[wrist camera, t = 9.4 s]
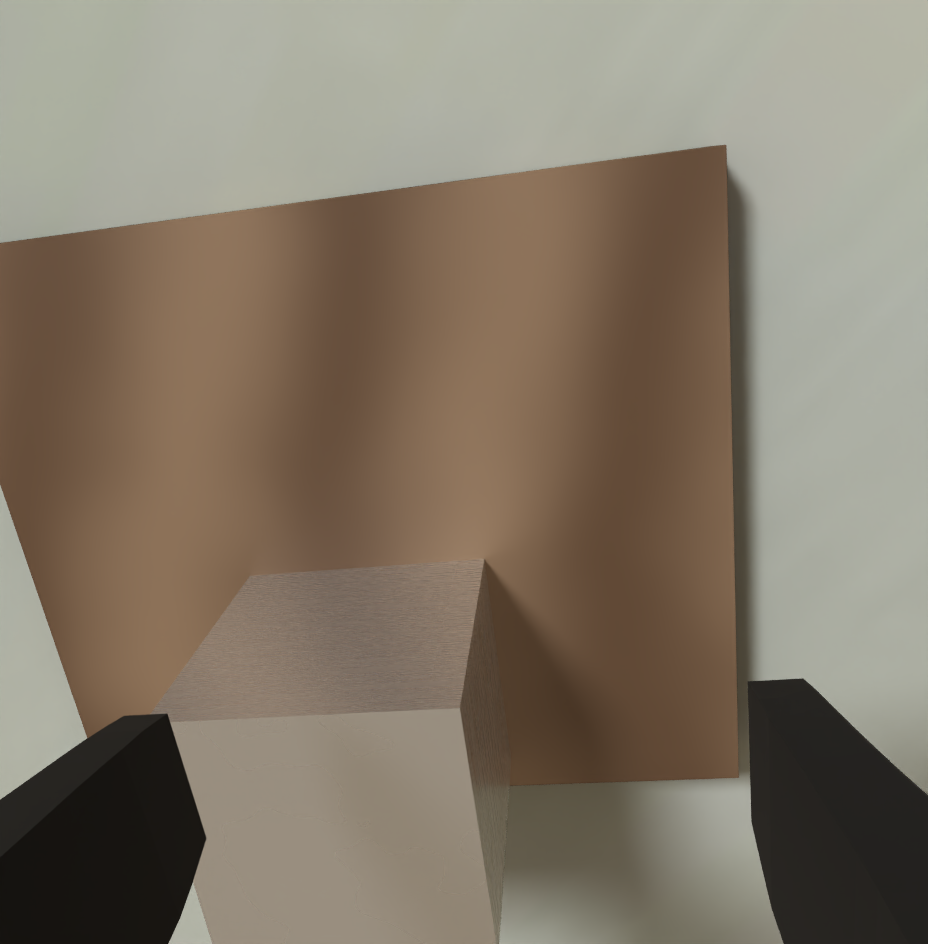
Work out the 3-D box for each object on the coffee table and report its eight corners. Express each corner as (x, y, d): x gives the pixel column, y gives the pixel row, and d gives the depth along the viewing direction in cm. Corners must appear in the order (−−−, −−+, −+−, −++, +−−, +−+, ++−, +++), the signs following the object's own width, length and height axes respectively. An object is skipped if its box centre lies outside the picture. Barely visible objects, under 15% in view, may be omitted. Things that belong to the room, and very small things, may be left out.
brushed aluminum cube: (484, 558, 18) (460, 708, 13) (511, 759, 20) (498, 956, 15) (250, 575, 19) (143, 723, 14) (296, 768, 21) (217, 958, 16)
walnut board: (714, 145, 16) (785, 140, 11) (728, 743, 21) (783, 923, 16) (-40, 248, 18) (-256, 281, 13) (130, 768, 23) (17, 932, 18)
